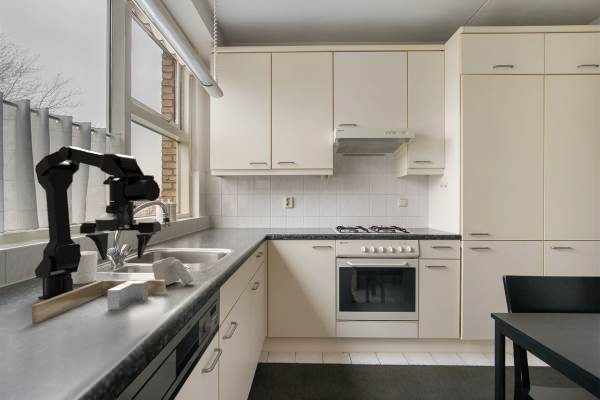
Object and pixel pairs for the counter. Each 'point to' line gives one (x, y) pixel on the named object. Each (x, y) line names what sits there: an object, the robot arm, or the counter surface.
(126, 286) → the bracket
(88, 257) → the white cup
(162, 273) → the wall hook
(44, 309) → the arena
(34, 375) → the counter surface
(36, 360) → the counter surface
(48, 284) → the robot arm
